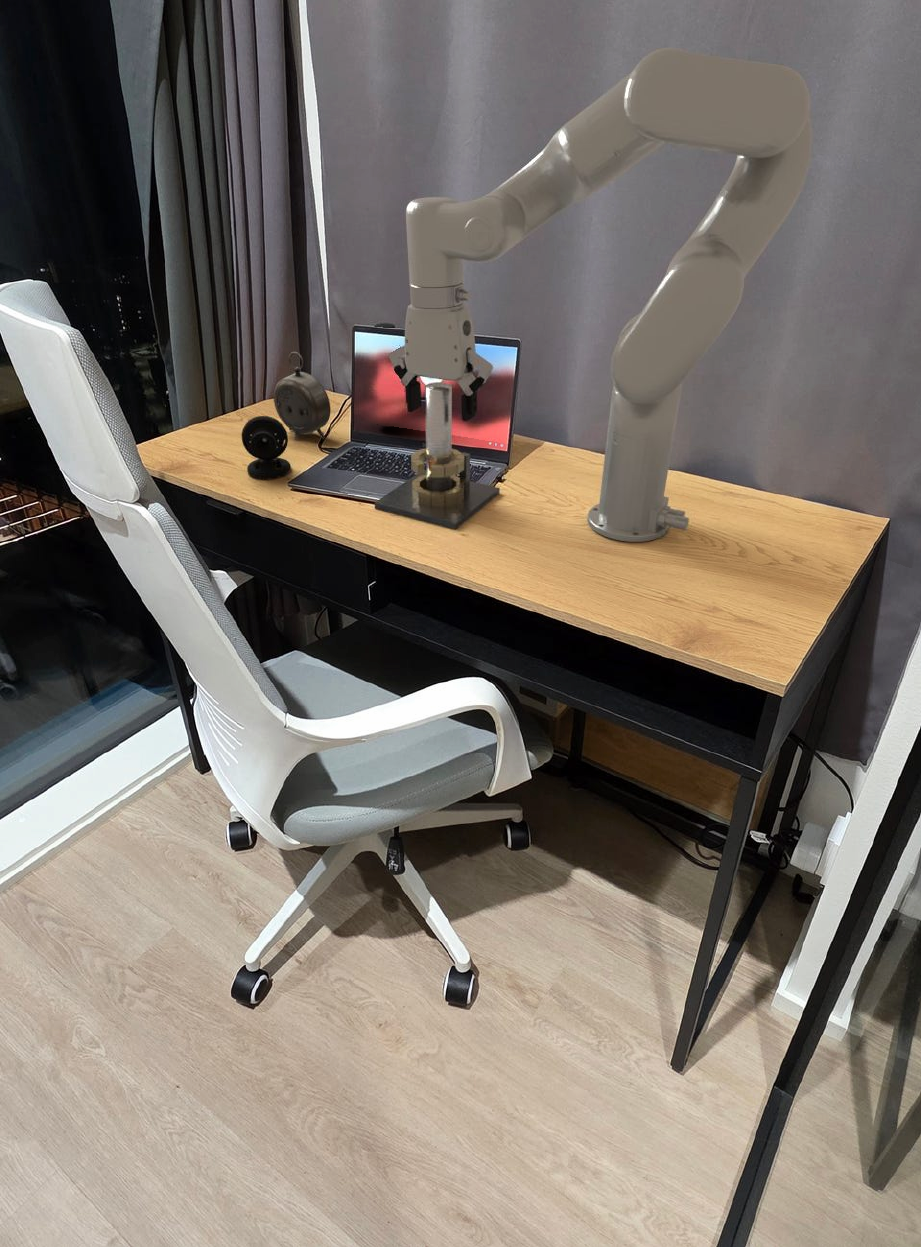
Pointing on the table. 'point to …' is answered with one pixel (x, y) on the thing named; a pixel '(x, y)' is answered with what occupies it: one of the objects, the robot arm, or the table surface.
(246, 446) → the webcam
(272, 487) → the table surface
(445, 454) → the steel tube
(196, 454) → the table surface
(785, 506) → the table surface
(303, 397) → the alarm clock
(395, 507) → the collar stand
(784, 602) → the table surface
